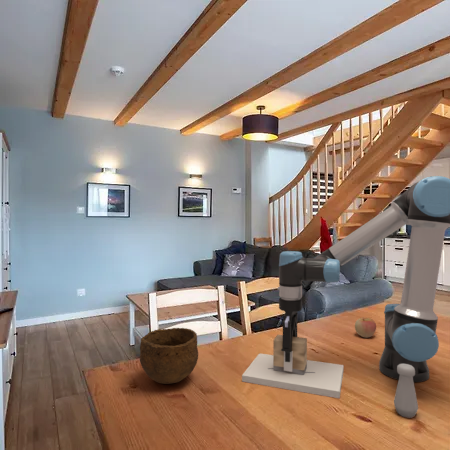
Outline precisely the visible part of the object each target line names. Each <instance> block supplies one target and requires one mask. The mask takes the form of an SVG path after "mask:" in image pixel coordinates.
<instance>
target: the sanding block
mask: <svg viewBox="0 0 450 450" xmlns="http://www.w3.org/2000/svg"><path fill="white" fill-rule="evenodd" d="M272 341H273V347H272V348H273V354H272V355H273V370H276V371H282V372H288V373H294V374H301V375H304V374H305V371H306V368H307V360H308V359H307V358H308V353H307V352H308V338H307V337H300V336H297V337H292V351H293V369H292V372H290V371H284V351H281V349H282V344H283V334H277V335H276V336H275V337H274V339H273V340H272Z"/></svg>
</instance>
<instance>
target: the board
mask: <svg viewBox="0 0 450 450" xmlns="http://www.w3.org/2000/svg"><path fill="white" fill-rule="evenodd" d="M344 370H345V369H344V364H339V363H331V362H322V361H316V360H309V359H307V368H306V371H305V374H304V375H301V374H294V373H288V372H282V371H276V370H273V354H268V353H267V354H266V353H258V354H257V355H256V357H255V358H254V359H253V361H252V362H251V363H250V364H249V366H248V367H247V368H246V370H245V371H244V372H243V373H242V375H241V382H244V383H249V384H255V385H261V386H265V387H272V388H277V389H282V390H283V389H284V390H289V391H294V392H300V393H306V394H311V395H312V394H313V395H317V396H324V397H329V398H330V397H331V398H334V399H340V397H341V392H342V391H341V390H342V385H343V383H342V382H343V377H344V376H343V375H344V372H345V371H344Z"/></svg>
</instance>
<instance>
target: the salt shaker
mask: <svg viewBox="0 0 450 450" xmlns="http://www.w3.org/2000/svg"><path fill="white" fill-rule="evenodd" d="M397 372H398V374H400V376H399V380H398V382H397V385H396V390H395V395H394V399H393V404H394V405H393V406H394V408H395V410H396V412H397V414H398V415H399V416H401V417H402V418H403V417H404V418H408V419H411V418H413V417H415V416H416V414H417V413H418V410H419V404H418V399H417V392H416V388H415V382H413V376H414V375H415V369H414V367H413V366H411V365H409V364H399V365H398V366H397Z"/></svg>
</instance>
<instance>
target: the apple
mask: <svg viewBox="0 0 450 450" xmlns="http://www.w3.org/2000/svg"><path fill="white" fill-rule="evenodd" d="M354 323H355V324H354V330H355V332H356V333H357V335H359V336H361V337H362V338H365V339H366V338H371V337H373V336H374V335H375V333H376V331H377V324H376V322H375V320H374V319H373V318H372V317H371V318H370V317H360V318H358V319H356V321H355V322H354Z"/></svg>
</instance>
